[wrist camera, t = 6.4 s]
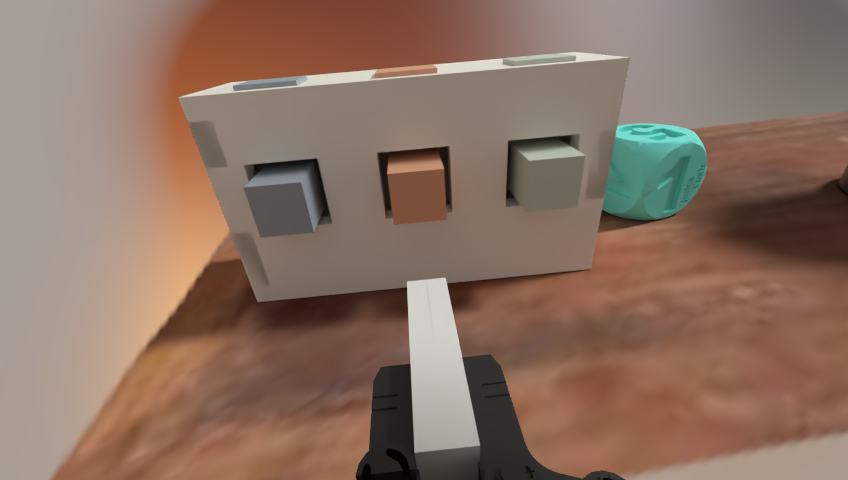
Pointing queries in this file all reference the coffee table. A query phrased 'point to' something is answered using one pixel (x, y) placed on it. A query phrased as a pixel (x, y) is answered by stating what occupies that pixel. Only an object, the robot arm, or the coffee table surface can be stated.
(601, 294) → the coffee table surface
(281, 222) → the slate button
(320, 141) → the button box
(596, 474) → the robot arm
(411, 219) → the terracotta button
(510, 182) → the sage button
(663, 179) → the decorative dice
